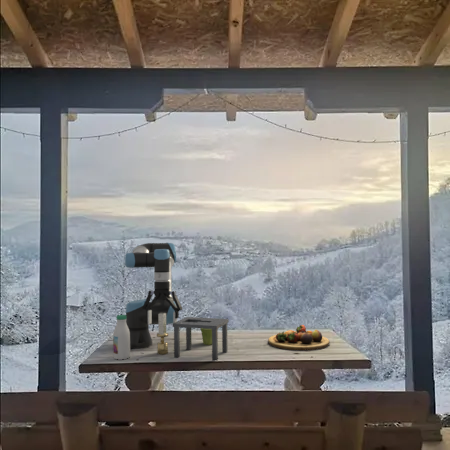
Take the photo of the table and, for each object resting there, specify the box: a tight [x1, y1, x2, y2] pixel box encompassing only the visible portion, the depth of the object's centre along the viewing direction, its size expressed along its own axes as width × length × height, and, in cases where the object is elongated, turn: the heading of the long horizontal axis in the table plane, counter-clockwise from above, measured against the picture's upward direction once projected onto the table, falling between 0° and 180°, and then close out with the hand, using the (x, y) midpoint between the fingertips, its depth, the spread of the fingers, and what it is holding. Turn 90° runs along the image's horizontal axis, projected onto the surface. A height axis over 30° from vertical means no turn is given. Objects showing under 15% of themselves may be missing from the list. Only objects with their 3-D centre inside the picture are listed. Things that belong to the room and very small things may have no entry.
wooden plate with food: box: [267, 324, 330, 351], centre depth 258 cm, size 32×32×8 cm
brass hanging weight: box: [156, 313, 169, 356], centre depth 240 cm, size 6×6×20 cm
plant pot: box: [199, 328, 212, 346], centre depth 259 cm, size 9×9×9 cm
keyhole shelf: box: [172, 316, 230, 361], centre depth 237 cm, size 22×18×16 cm
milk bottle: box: [112, 314, 131, 361], centre depth 232 cm, size 8×8×20 cm
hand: (162, 324), depth 239 cm, fingers open, 13 cm apart
